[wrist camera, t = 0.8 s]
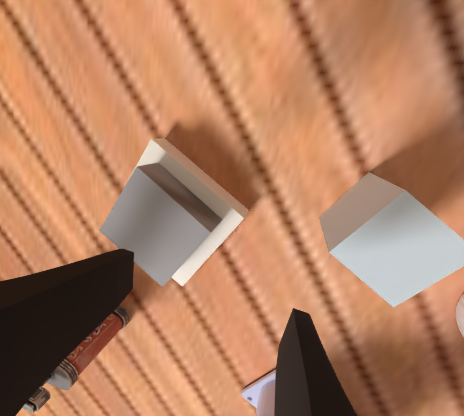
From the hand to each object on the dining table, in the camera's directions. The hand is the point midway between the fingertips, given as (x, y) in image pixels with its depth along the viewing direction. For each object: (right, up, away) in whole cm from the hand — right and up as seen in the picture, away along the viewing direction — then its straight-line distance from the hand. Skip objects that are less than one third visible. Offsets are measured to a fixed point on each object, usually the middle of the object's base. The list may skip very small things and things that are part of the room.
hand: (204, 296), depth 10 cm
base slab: (-3, +4, +11) cm, 12 cm away
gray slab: (-4, +3, +9) cm, 10 cm away
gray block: (+11, +3, +6) cm, 13 cm away
